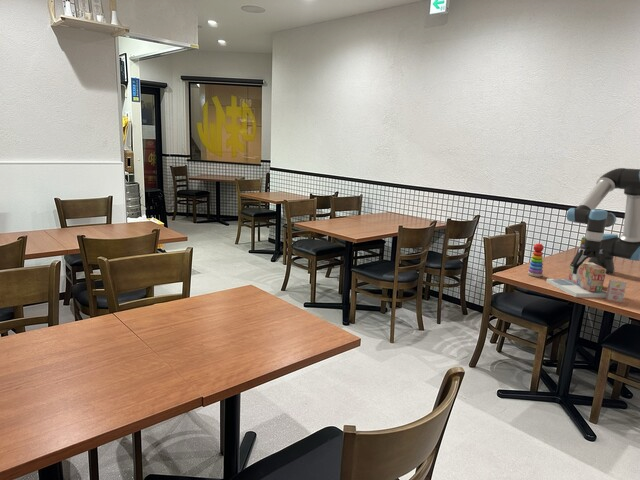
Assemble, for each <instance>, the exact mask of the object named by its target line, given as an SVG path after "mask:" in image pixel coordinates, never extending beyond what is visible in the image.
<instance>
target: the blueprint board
mask: <svg viewBox="0 0 640 480" xmlns="http://www.w3.org/2000/svg"><path fill="white" fill-rule="evenodd" d="M545 282H546V283H547V284H549V285H551V286H553V287H555V288H557V289H558V290H561V291H563V292H565V293H567V294H568V295H571V296H573V297H574V298H599V299H601V298H605V299H606V293H607V291H604V290H602V292H590V291H588V290H586V289H585V288H583V287H581V286H580V285H578V284H576V283H575V282H573V281H571V280H570V279H569V278H546V281H545Z"/></svg>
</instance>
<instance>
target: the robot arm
mask: <svg viewBox="0 0 640 480" xmlns="http://www.w3.org/2000/svg"><path fill="white" fill-rule="evenodd" d="M595 183H596V185H594V187H593V188H592V189H591V191H590V192H589V193H587V195H586V197H584V199H583V200H581V203H579V205H578V206H577V207H570V208H569V209H568V210H567V211H566V212H567V213H566V220H567V221H569V222H572V223H575V224H577V223H578V224H582V225H587V227H586V233H585V236H584V237H585V238H587V239H585V242H584V249H580V248H577V250H576V251H577V252H576V254H575V256H574V257H573V259H572V261H571V262H570V265H569V267H571V266H572V267H573V280H575V281H577V280H578V275H579V270H580V269H579V266H580V265H581V264H582V263H583V262H586V260H587V259H588V258H589V260H588V261H587V262H591V263H594V264H597V265H599V266H601V267H603V268H605V269H606V274H614V273H615V265H614V258H615V257H616V258H621V259H626V260H629V261H636V262H638V261H640V168H625V167H621V168H620V167H618V168H614V169H612V170H609V171H607V172H606V173H603V175H601V176H600V177H599V178H598V179H597V180H596V182H595ZM615 189H619V190H623V194H624V195H625V196H626V201H625V202H626V203H625V211H624V219H623V220H624V221H623V230H622V231H623V233H622V234H621V235H620V236H619V235H618V234H615V233H604V232H605V228H609V227H611V226H613V225H615V224H616V222H617V217H616V215H615V214H614V213H612V212H608V211H607V210H604V209H600V208H599V209H596V208H597V207H598V206H599V205H600V204H601V202H602V201H603V200H604V199H605V198H606V197H607V195H608V194H609V193H610V192H611V193H612V191H614V190H615ZM583 252H584V253H583ZM582 253H583V254H582Z"/></svg>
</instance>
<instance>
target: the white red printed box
mask: <svg viewBox="0 0 640 480" xmlns="http://www.w3.org/2000/svg"><path fill="white" fill-rule="evenodd" d="M626 287H627V282H625V281H619V280H614V279H609V281H608V285H607V289H606V298H605V301H608V302H609V301H610V302H613V303H621V304H623V302H624V298H625V292H626Z"/></svg>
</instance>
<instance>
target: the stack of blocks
mask: <svg viewBox="0 0 640 480" xmlns="http://www.w3.org/2000/svg"><path fill="white" fill-rule="evenodd" d="M579 269H580V270H579V275H578V280H577V281H575V280H573V267H572V266H569V276H568V279H570V280H571V281H573V282H575V283H576V284H578V285H580V286H581V287H583V288H585V289H586V290H588V291H590V292H602V291H603V286H604V281H605V278H606V274H607V273H606V269H605V268H603V267H601V266H599V265H597V264H594V263H591V262H588V261H584V262H583V263H582V264H581V265H580V266H579Z"/></svg>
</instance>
